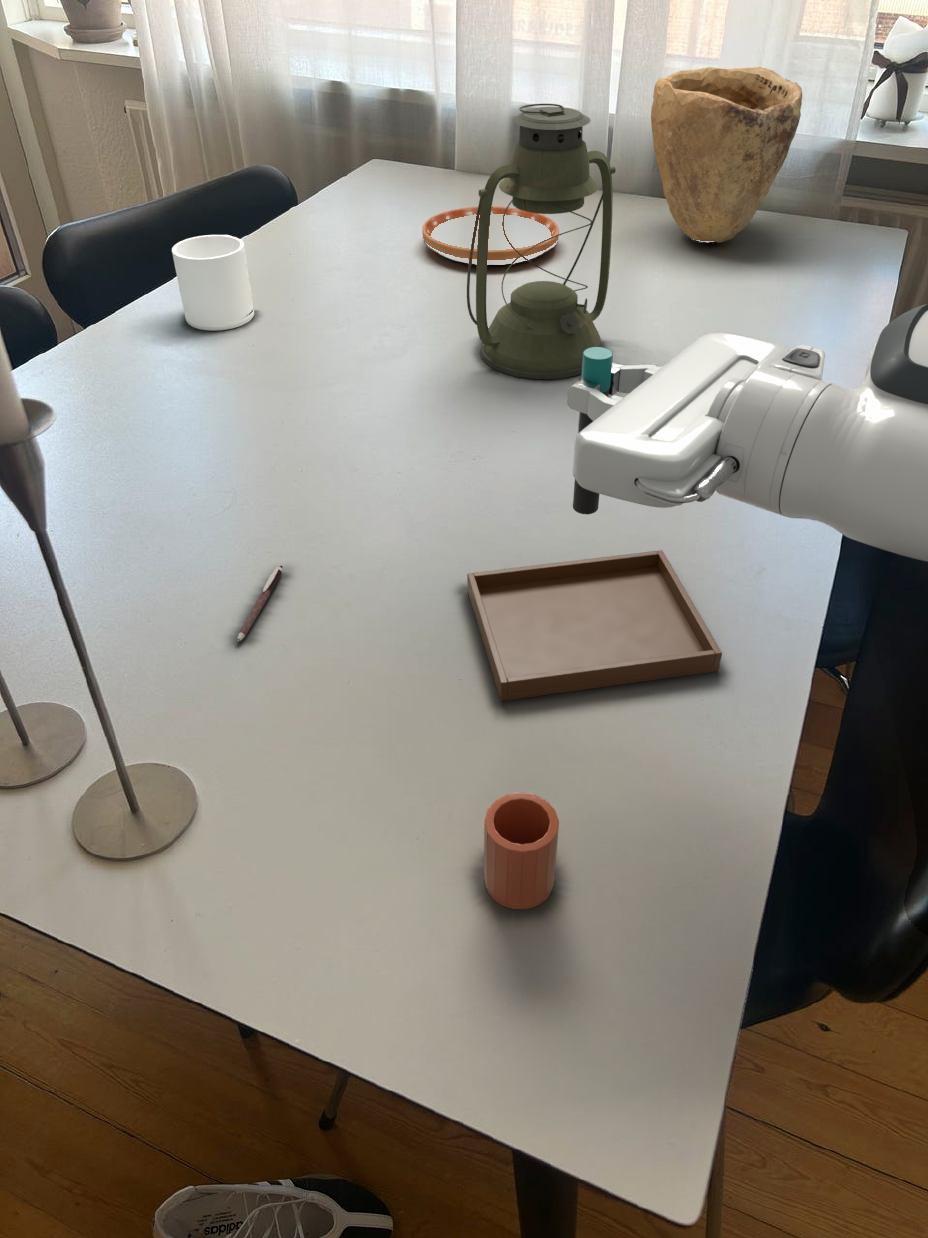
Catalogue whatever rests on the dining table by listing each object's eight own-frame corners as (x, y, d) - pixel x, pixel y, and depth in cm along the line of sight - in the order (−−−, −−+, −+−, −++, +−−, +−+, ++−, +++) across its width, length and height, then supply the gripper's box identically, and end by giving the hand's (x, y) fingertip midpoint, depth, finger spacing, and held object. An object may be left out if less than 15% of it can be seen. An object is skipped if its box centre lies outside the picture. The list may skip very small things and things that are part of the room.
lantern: (508, 393, 123) (513, 137, 104) (444, 342, 135) (438, 104, 116) (639, 358, 130) (666, 113, 111) (568, 313, 142) (581, 85, 123)
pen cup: (544, 846, 69) (548, 787, 65) (561, 903, 66) (566, 845, 61) (478, 857, 69) (478, 798, 64) (492, 915, 65) (493, 856, 61)
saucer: (511, 218, 176) (512, 197, 173) (584, 256, 160) (586, 233, 158) (399, 240, 167) (398, 218, 165) (465, 283, 152) (465, 259, 149)
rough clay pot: (716, 276, 153) (744, 101, 137) (612, 240, 166) (626, 77, 150) (800, 243, 164) (835, 77, 148) (697, 212, 177) (718, 57, 161)
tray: (659, 567, 95) (662, 549, 93) (718, 671, 83) (722, 653, 82) (467, 590, 92) (467, 573, 91) (500, 701, 81) (500, 683, 79)
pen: (278, 569, 95) (276, 561, 94) (285, 570, 95) (284, 562, 94) (234, 644, 86) (232, 635, 86) (242, 645, 86) (240, 636, 86)
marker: (600, 502, 77) (615, 348, 69) (596, 516, 75) (610, 360, 67) (574, 498, 77) (586, 345, 69) (569, 512, 76) (580, 357, 67)
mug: (239, 333, 138) (227, 261, 131) (174, 328, 140) (159, 256, 133) (270, 299, 147) (261, 231, 141) (209, 295, 149) (197, 227, 143)
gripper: (688, 552, 59) (503, 483, 66) (811, 420, 72) (646, 372, 78) (704, 463, 55) (505, 398, 62) (831, 339, 68) (655, 296, 74)
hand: (585, 383), depth 70 cm, fingers closed on marker, 2 cm apart
